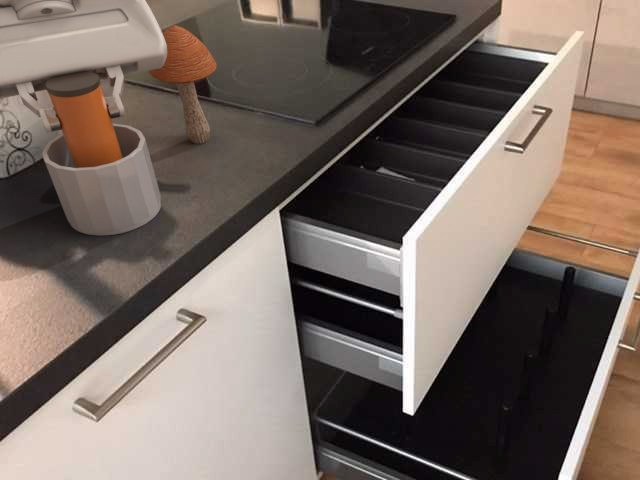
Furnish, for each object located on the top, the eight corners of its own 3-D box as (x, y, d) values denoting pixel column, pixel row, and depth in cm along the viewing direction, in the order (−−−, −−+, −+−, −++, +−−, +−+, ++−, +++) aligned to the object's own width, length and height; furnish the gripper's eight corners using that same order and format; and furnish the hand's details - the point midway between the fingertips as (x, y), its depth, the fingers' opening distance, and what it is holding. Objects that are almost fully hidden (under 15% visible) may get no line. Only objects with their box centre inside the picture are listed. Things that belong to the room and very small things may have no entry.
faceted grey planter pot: (77, 246, 69) (51, 179, 63) (60, 200, 75) (35, 136, 70) (172, 219, 72) (155, 154, 67) (148, 178, 79) (131, 116, 74)
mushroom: (185, 163, 82) (157, 42, 72) (156, 139, 86) (126, 22, 76) (241, 143, 86) (221, 26, 76) (210, 122, 90) (188, 8, 80)
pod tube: (79, 178, 67) (49, 95, 61) (71, 158, 70) (41, 76, 64) (128, 167, 69) (103, 84, 63) (117, 147, 72) (93, 67, 66)
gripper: (-91, -10, 59) (-37, 134, 59) (139, -39, 67) (187, 89, 67) (-71, 26, 65) (-21, 157, 65) (139, -5, 73) (183, 112, 73)
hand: (86, 122), depth 66 cm, fingers closed on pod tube, 5 cm apart
